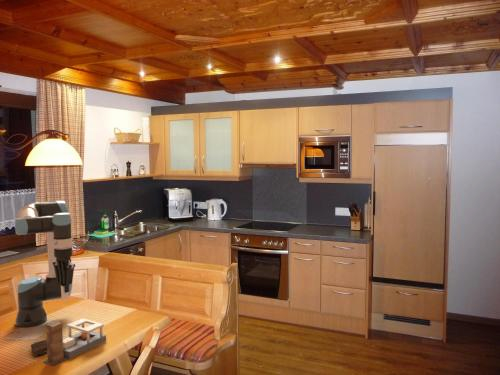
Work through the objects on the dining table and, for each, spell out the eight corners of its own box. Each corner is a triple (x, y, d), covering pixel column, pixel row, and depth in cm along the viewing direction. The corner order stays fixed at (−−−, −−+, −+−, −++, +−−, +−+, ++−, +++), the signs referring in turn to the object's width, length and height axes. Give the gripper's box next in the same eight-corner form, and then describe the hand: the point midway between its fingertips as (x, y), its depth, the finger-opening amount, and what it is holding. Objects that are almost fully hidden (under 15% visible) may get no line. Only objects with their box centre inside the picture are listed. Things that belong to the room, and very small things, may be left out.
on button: (59, 347, 188) (59, 341, 188) (69, 343, 192) (69, 336, 192) (65, 349, 186) (65, 342, 186) (74, 345, 190) (74, 338, 190)
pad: (43, 361, 180) (43, 361, 180) (57, 355, 186) (57, 354, 186) (53, 365, 176) (53, 364, 176) (68, 358, 182) (68, 358, 182)
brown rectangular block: (47, 360, 180) (46, 324, 179) (57, 356, 184) (55, 321, 183) (54, 363, 178) (52, 326, 177) (63, 358, 182) (62, 322, 181)
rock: (34, 359, 183) (34, 350, 183) (29, 350, 191) (29, 342, 191) (61, 351, 190) (61, 343, 190) (55, 343, 198) (55, 336, 198)
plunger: (80, 339, 197) (79, 331, 197) (86, 337, 200) (86, 328, 200) (85, 341, 195) (84, 333, 195) (91, 338, 199) (91, 330, 198)
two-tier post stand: (49, 351, 190) (48, 332, 189) (86, 334, 207) (85, 317, 206) (70, 358, 182) (69, 339, 182) (106, 341, 199) (106, 323, 199)
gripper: (46, 247, 186) (48, 299, 188) (64, 250, 179) (67, 304, 181) (61, 244, 192) (63, 294, 194) (79, 247, 186) (81, 298, 188)
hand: (65, 299), depth 188 cm, fingers closed
